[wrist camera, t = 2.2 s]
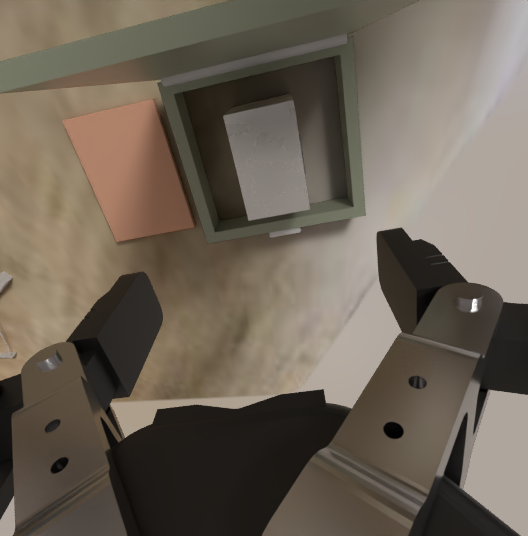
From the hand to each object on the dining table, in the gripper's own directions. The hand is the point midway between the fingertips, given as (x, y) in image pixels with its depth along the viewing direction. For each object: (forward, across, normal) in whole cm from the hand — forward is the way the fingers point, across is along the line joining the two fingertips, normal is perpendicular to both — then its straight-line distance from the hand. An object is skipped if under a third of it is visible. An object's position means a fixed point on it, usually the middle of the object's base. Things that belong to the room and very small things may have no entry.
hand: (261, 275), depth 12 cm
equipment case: (+23, 0, 0) cm, 23 cm away
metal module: (+23, 0, 0) cm, 23 cm away
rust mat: (+23, +13, 0) cm, 27 cm away
